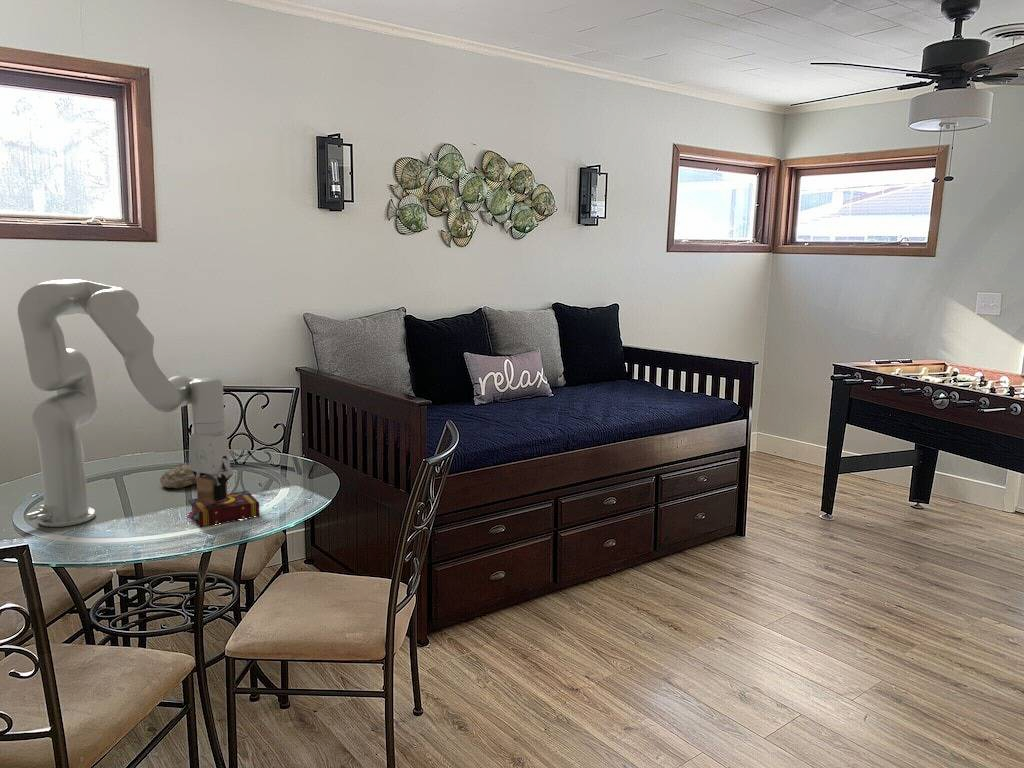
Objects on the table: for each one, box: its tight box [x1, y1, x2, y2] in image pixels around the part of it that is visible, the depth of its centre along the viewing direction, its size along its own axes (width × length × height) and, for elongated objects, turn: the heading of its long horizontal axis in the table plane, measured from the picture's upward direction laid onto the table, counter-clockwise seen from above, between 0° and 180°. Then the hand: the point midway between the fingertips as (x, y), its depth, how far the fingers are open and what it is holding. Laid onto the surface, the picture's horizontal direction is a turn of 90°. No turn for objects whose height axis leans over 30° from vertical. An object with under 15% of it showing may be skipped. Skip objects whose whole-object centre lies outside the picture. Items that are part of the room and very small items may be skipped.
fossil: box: [159, 462, 197, 489], centre depth 229 cm, size 12×8×10 cm
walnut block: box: [196, 474, 228, 504], centre depth 199 cm, size 5×5×6 cm
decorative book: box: [186, 489, 260, 528], centre depth 202 cm, size 11×16×5 cm
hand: (212, 496), depth 199 cm, fingers closed on walnut block, 5 cm apart
